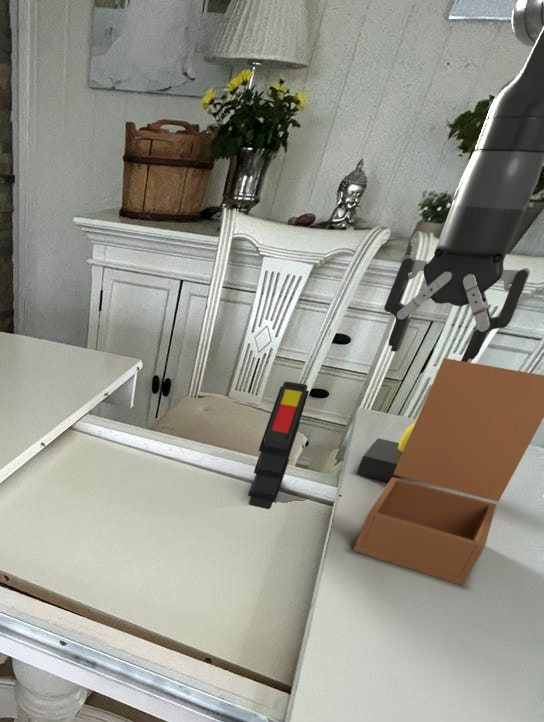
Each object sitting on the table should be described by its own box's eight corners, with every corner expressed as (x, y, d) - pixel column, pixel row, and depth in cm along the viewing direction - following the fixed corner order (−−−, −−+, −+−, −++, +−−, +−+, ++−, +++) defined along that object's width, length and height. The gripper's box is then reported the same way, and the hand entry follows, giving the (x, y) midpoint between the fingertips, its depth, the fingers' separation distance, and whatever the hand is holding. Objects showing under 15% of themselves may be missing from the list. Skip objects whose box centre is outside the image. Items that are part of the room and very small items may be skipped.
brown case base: (462, 585, 69) (484, 546, 66) (352, 550, 74) (368, 512, 71) (476, 540, 78) (496, 504, 74) (377, 512, 83) (392, 476, 80)
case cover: (564, 378, 66) (560, 377, 71) (443, 358, 72) (446, 358, 76) (498, 501, 74) (498, 494, 78) (393, 474, 79) (398, 468, 83)
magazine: (288, 464, 91) (311, 383, 78) (267, 530, 86) (288, 455, 73) (263, 459, 92) (282, 379, 79) (241, 524, 87) (257, 450, 74)
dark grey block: (405, 463, 98) (412, 446, 96) (392, 483, 91) (400, 464, 89) (371, 455, 100) (377, 437, 98) (356, 473, 93) (363, 455, 92)
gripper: (564, 207, 66) (493, 361, 76) (429, 198, 73) (379, 342, 83) (560, 208, 61) (484, 372, 72) (415, 199, 68) (365, 351, 78)
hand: (428, 356), depth 77 cm, fingers open, 8 cm apart
